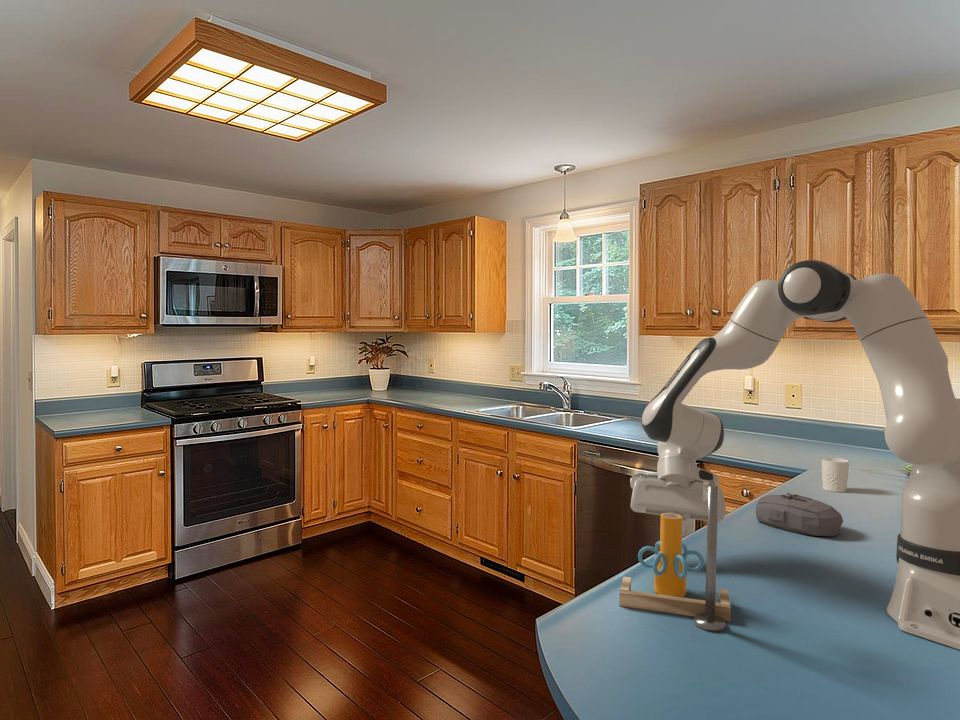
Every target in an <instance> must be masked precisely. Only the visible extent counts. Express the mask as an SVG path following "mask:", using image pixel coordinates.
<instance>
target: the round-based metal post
mask: <svg viewBox="0 0 960 720" xmlns="http://www.w3.org/2000/svg"><path fill="white" fill-rule="evenodd" d="M719 487H720V484H719V481H718V482H714V480H708V482H707V481H703V501H708V516H707V521H706V522H707V523H706V526H707V527H706V557H705V559H706V561H705V562H706V563H705V565H706V566H705V567H706V569H705V596H704V597H705V599H704V601H705V614H698V615H696V616H695V617H694V618H693V619H694V625H695V627H697V628H699V629H701V630H703V631H706V632H712V633H713V632H715V633H717V632H719V633H720V632H723V631H724V630H726V621H724V620H723V619H722V618H720V617H718V616H715V602H716V594H717V593H716V592H717V590H716V587H717V586H716V584H717V553H718V552H717V549H718V547H717V545H718V522H717V516H718V502H719Z"/></svg>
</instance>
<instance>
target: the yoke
mask: <svg viewBox="0 0 960 720" xmlns="http://www.w3.org/2000/svg"><path fill="white" fill-rule="evenodd" d="M621 581H622V582H621V585H620V588H619V593H618V594H619V599H618V601H619V602H618V604H619V605H618V606H619V607H625V608H632V609H638V610H646V611H653V612H660V613H668V614H674V615H675V614H676V615H679V616H680V615H682V616H688V617H694V618H695V616H696V615H698V614H705V599H704V600H703V599H696V598H688V597H674V596H667V595H659V594H657V593H651V592H643V591H635V590H632V577H631V576H623V577H622V580H621ZM731 611H732V606H731V601H730V595H729V591H728V589H724V588H718V601H715V616H718V617H720V618H722V619H723V620H724V621H725V622H731V621H732V620H731V618H732V616H731V615H732V612H731Z"/></svg>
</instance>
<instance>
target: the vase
mask: <svg viewBox="0 0 960 720" xmlns="http://www.w3.org/2000/svg"><path fill="white" fill-rule="evenodd" d="M682 523H683V522H682V516H681V515H679V514H675V513H663V514H661V515H660V529H659V530H660V533H659V535H660V536H659V537H660V538H659V540H658V541H656V542H655V545H654V546H650V545H646V546H643V547H642V548H641V549H639V550H638V554H637V558H638V562H639V563H640V564H641V565H642V566H643V567H645V568H649V569H651V568H652V570H653V578H654V579H653V590H654V592H655V594H659V595H667V596H674V597H682V598H685V596H686V594H687V580H688V579H687V575H688V572H690V573H697V572H699V571H701V570H702V569H703V567H704V565H705V559H704V557H703V555H702V553H700V552H699V551H698V550H695V549H688V547H687V545H686V544H685V543H683V536H682ZM646 551H652V552H653V553H654V555H655V557H654V560H653V562H652V563H647V562H645V561H644V559H643V554H644V552H646ZM688 555H695V556H696V557H698V559H699V563H698V565H697V566H694V567H691V566H688V565H687V561H686V560H687V557H688Z"/></svg>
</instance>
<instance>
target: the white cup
mask: <svg viewBox="0 0 960 720" xmlns="http://www.w3.org/2000/svg"><path fill="white" fill-rule="evenodd" d="M849 467H850V461H849V460H848V459H845V458H839V457H822V458H821V480H822V484H821V485H822V486H821V487H822V489H823V490H824V491H826V492H827V491H828V492H831V493H845V492H847V486H848V485H847V483H848V478H849Z"/></svg>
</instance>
